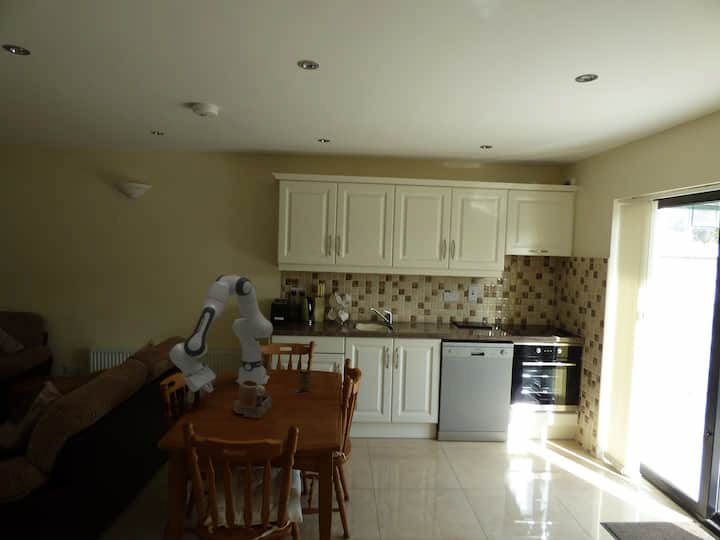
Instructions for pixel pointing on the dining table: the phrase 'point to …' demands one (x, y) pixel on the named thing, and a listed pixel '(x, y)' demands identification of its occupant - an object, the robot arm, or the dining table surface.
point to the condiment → (303, 381)
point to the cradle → (262, 401)
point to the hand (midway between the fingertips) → (211, 391)
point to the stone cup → (246, 395)
